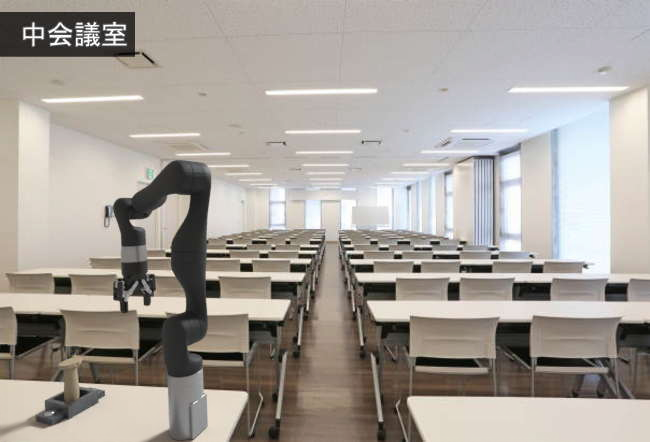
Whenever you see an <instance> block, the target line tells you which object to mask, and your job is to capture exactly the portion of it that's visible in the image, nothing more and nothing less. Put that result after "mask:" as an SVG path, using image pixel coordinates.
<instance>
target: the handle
mask: <svg viewBox="0 0 650 442" xmlns="http://www.w3.org/2000/svg"><path fill="white" fill-rule="evenodd" d="M82 362H83V357H81V356H75V357H74V356H72V357H71V358H67V359H64V360H63V361H61V362H59V364H58V365H57V366H58V370H60V371H63V374H64V375H63V376H64V377H63V378H64V379H63V391H64V399H65V402H66V403H71V402H73V401H75V400H77V399H79V386H80V382H79V375H78V374H79V373H78V372H79V371H78V367H79V366H80V365H81V364H82Z"/></svg>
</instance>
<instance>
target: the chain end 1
mask: <svg viewBox="0 0 650 442" xmlns="http://www.w3.org/2000/svg"><path fill="white" fill-rule="evenodd" d="M72 418H74V417H73V407H72V404H70V403H66V402H65V399H64V390H63V391H61V392H59V393H57V394H55V395H53V396H51V397H48V398H47V399H45V400H44V410H43V411H41V412H39V413H38V414H37V413H36V415H35V422H37V423H42V424H45V425H49V426H53V425H56V424H57V423H59V422H61V421H63V420H64V419H66V420H70V419H72Z"/></svg>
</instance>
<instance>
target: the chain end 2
mask: <svg viewBox="0 0 650 442" xmlns="http://www.w3.org/2000/svg"><path fill="white" fill-rule="evenodd" d="M105 396H106V391H105V390H104V389H99V388H96V387H91V386H89V387H83V386H80V385H79V399H77V400H75V401H73V402H71V403H70V404H72V407H73V417H72V418H74V417H75V416H77V415H79V414H81V413H82V412H84V411H86V410H88V409H90V408H91V407H93V406H95V405H96V404H99V402H100V401H99V400H100V399H102V398H103V397H105Z"/></svg>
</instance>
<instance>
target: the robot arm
mask: <svg viewBox="0 0 650 442" xmlns="http://www.w3.org/2000/svg"><path fill="white" fill-rule="evenodd" d="M211 190H212V173H211V170H210V167H209V166H208V165H207V163H205V162H199V161H193V160H192V161H191V160H185V159H176V160H173V161H170V162H169V163H168V164H166V165H165V167H164V168H163V169H162V170H161V171H160V172H159V173H158V174H157V175H156V177H154V179H153V180H152V181H151V182H150V183H148V185H147V186H145V187H143V188H142V189H140V190H138V191H137V192H136V193H134V194H133V196H132V197H118V198H117V199H116V200H115V201H114V202H113V206H112V211H113V215H114V217H115V221H116V223H117V225H118V226H117V227H118V229H119V233H120V246H121V247H120V267H121V268H120V269H121V271H120V272H121V276H122V278H123V279H122V280H120V281H119V280H117V281H116V280H114V281H113V283H112V284H113V287H112V288H113V291H112V296H113V297H112V300H113V301H115V302H117V301H118V302H119V310H120V313H121V314H128V313H129V301H128V300H129V298H130V296H132V295H133V294H134V292H137V291H141V292H142V293H143V295H142V297H143V306H145V307H149V306H151V304H152V294H153V292H156V291H157V285H156V276H155V275H156V274H155V273H148V272H149V266H148V263H149V262H148V249H147V236H146V235H147V234H146V230H145V228H144V227H141V226H134V225H133V224H132V222H131V221H130V220H133V221H134V220H145V219H147V218H149V217H150V215H152V213H153V211H155V210H158V209H159V208H162V206H163V205H164V204H165V203H166V201H167V199H168V196H170V195H180V196H189V207H188V211H187V212H186V213H187V214H186V216H185V218H184V220H183V222H182V223H181V225H180V226H179V228H178V229H177V231H176V232H175V234H174V236H173V238H172V241H171V244H170V245H171V246H170V268H171V270H172V273H173V275H174V277H175V278H176V280H177V281H178V282H179V284H180V285H181V288H182V289H183V292H184V296H185V311H183V312H180V313H177V314H175V315H172V316H169V317H167V318H166V319H164V321H163V324H162V327H161V338H162V347H163V358H164V364H165V366H166V371H167V374H166V375H167V395H168V396H167V398H168V399H167V401H168V402H167V403H168V421H169V422H168V424H169V437H170V438H171V439H173V440H175V441H185V440H194V439H195V438H196V437H198V436H199V435H200V433H202V432H203V431H204V430H205V429H206V428H207V427H208V426H209V425H208V424H209V423H208V422H209V421H208V396H207V393H205V392H204V364H203V363H204V362H203V357H202V356H201V355H199V354H197V353H189V350H188V349H189V348H188V347H189V346H191V345H194V344H196V343H198V342H200V341H202V340H203V339H204V338H205V337H206V336H207V332H208V328H209V319H208V318H209V317H208V304H207V291H206V289H207V287H206V283H207V280H206V279H207V272H206V271H207V257H208V255H207V253H208V248H207V247H208V246H207V243H208V241H207V240H208V239H207V237H208V236H207V235H208V216H209V215H208V214H209V209H210V208H209V206H210V200H211Z"/></svg>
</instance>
